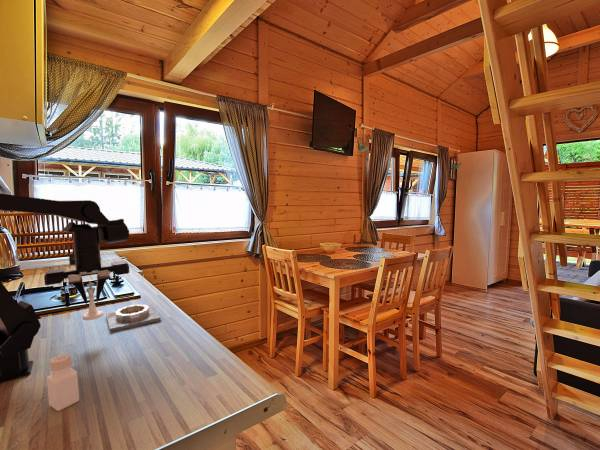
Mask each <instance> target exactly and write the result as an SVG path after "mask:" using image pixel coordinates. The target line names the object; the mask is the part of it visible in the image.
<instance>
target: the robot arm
mask: <svg viewBox="0 0 600 450" xmlns="http://www.w3.org/2000/svg"><path fill="white" fill-rule="evenodd" d="M0 211H9V212H19V213H30V214H41V215H52V216H55V217H59V218H62V219H67V220H71V221H70V222H68V224H67V225H65V227H64V228H62V231H63V232H65V233H72V239H73V240H72V242H73V249H74V253H69V254H68V260H69V262H68V263H69V266H70V267H73V266H75V269H74V270H73V269H72V270H67V271H66V270H65V268H64V267H62V268H54V269H47V271H46V272H45V273H44V275H43V276H44V278H43V279H44V285H45V286H50V285H58V284H62V283H63V282H64V280H65V279H67V280H68V283H67V285H69V286H73V287H74V288H75V289H76V290H77V292H78V293H79V294H80V296H81V297H82V300H83V302H84V303H85V304H86V305H87V304H88V299H87V297H88V296H87V293H86V292H87V291H86V289H85V286H84V280H83V277H85V276H93V275H96V286H95V291H96V292H95V296H96V297H95V298H96V299H95V300H96V302H97V303H98V302H99V301H100V297H101V294H102V291H103V288H104V285H105V284H106V282H107V281H108V280H111V273H113V274H115V275H116V276H119V275H126V274H130V265H129V262H127V261H126V260H120V261H119V260H118V261H112V262H111V264H110V265H106V266H102V260H101V259H102V258H101V257H102V256H101V249H100V248H101V246H100V242H101V243H102V244H105V245H107V244H115V243H121V242H126V241H127V240H129V239H130V238H129V237H130V230H129V228H128V226H127V224H126V223H125V220H124V218H115V219H109V218H108V217H106V216H105V214H104V213H103V212H102V211H101V208H100V205H98V203H97V202H96V201H94V200H89V199H88V200H87V199H85V200H82V199H80V200H79V199H71V200H70V199H69V200H67V199H66V200H55V199H45V198H41V197H40V198H39V197H31V196H24V195H23V196H22V195H15V194H7V193H0ZM72 221H75V222H72ZM76 222H81V223H80V224H78V223H77V224H76ZM91 225H95V226H91ZM41 319H42V317H41V316H39V315H38V314H37V313H36V311H35V308H34V306H33V305H32V304H31V303H29V302H26V301H24V300H20V301H18V302H17V301H16V299H14V297H13V296H12V294H11V293H10V291H9V290H8V289H7V288H6V286H5V284H4V283H3V282H2V281H1V280H0V383H3V382H6V381H11V380H14V379H18V378H21V377H25V376H29V375H30V374H31V372H32V368H33V366H34V365H33V364H34V360H30V359H29V350H30V349H31V347H32V345H33V341H34V339H35V336H37V334H38V333H39V330H40V329H41V326H42V325H41V322H40V320H41Z"/></svg>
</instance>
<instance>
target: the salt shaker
mask: <svg viewBox="0 0 600 450" xmlns="http://www.w3.org/2000/svg"><path fill="white" fill-rule="evenodd" d="M71 359H72V358H71V354H68V353H64V354H59V355H56V356H54V357H52V358H51V359H50V360H49V365H50V372H51V374H49V375H48V376H47V377H46V387H47V395H48V397H47V398H48V404H49V406H50V407H52V408H53V410H55V411H57V412H60V411H62V410H64V409H65V408H68V407H70V406H72V405H74V404H76V403H78V402H79V400H80V390H79V381H78V380H79V379H78V372H77V371H76V369H75V368H72V360H71Z"/></svg>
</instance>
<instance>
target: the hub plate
mask: <svg viewBox="0 0 600 450" xmlns="http://www.w3.org/2000/svg"><path fill="white" fill-rule="evenodd" d="M105 315H106V321H107V325H108V329H109V330H108V331H109V333H114V332H115V333H116V332H119V331H123V330H127V329H133V328H135V327H136V328H137V327H141V326H144V325H148V324H149V325H150V324H153V323H158V322H161V321H162V320H161V316H160V315H159V313H158V311H157V310H156V309H155V307H154V305H153V304H149V305H147V304H141V303H139V304H131V305H128V306H123V307H120V308H118V309H117V310H116V311H114V312H113V311H112V312H110V313H109V312H108V313H106V314H105Z"/></svg>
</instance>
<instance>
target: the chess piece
mask: <svg viewBox="0 0 600 450" xmlns="http://www.w3.org/2000/svg"><path fill="white" fill-rule="evenodd" d="M94 286H95V283H94V282H92V281H91V280H90V281H88V283H87V284H86V287H87V288H86V289H85V291H86V292H87V294H88V296H87V300H89V306H88V307H89V308H88V311H87V312H86V313H84V314H83V315H82V319H81V320H83V321H93V320H98V319H100V318H102V317H103V316H104V315H105V314H104V311H102V310H98V309H97V307H96V303H95V298H96V294H95V291H96V287H94ZM94 294H95V295H94Z"/></svg>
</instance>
